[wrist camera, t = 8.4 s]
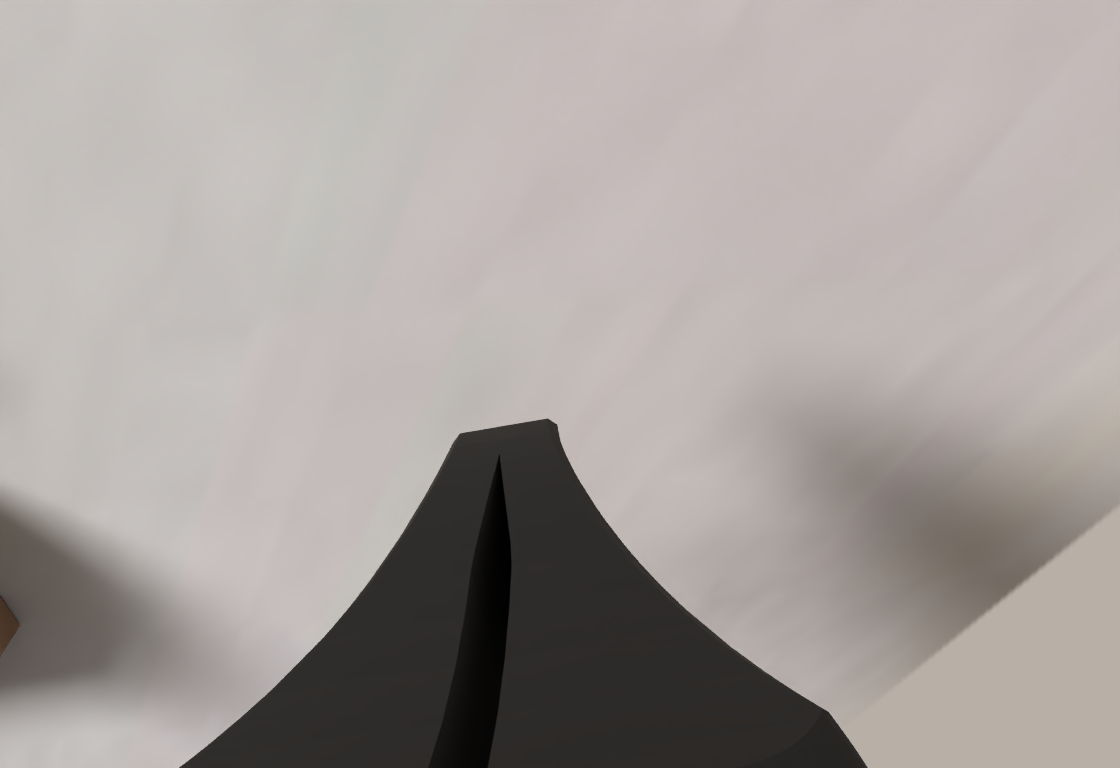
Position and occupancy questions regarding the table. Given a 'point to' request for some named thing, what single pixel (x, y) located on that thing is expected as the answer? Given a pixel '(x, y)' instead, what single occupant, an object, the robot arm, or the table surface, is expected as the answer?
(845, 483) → the table surface
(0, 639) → the brown piece
